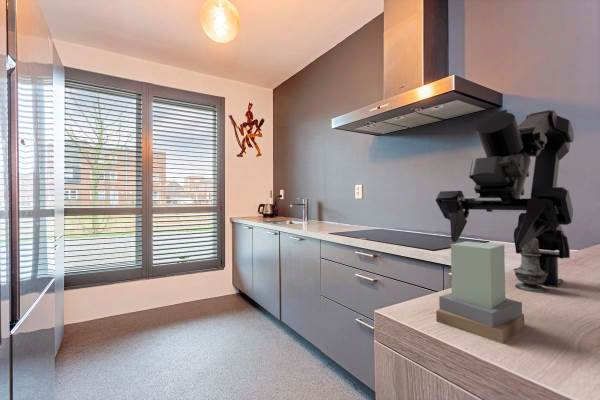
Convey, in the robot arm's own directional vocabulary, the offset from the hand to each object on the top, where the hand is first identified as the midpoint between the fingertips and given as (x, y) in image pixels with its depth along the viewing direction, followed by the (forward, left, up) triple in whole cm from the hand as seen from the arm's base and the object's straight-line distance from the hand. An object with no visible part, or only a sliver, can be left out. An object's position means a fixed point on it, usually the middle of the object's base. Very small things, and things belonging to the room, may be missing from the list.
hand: (483, 243), depth 46 cm
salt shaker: (-25, 0, -12) cm, 28 cm away
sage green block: (+2, 0, -8) cm, 9 cm away
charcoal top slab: (+2, 0, -10) cm, 11 cm away
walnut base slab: (+2, 0, -13) cm, 13 cm away
